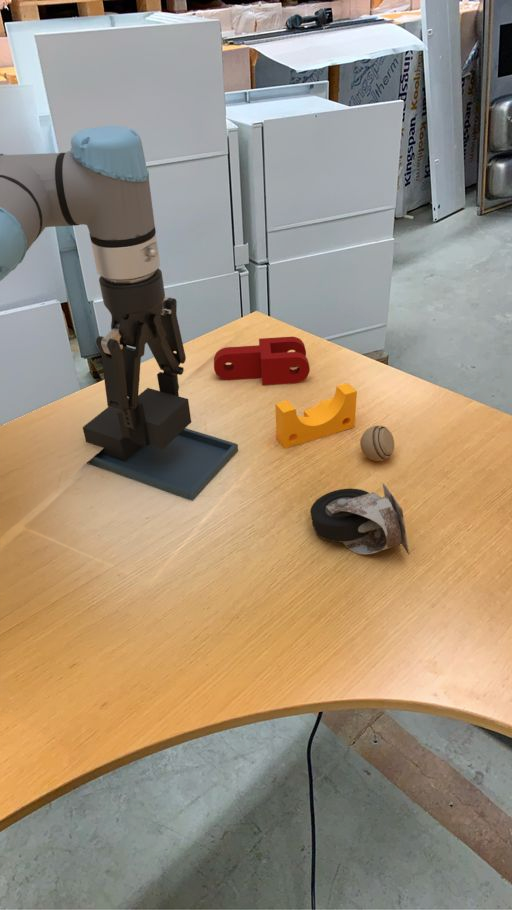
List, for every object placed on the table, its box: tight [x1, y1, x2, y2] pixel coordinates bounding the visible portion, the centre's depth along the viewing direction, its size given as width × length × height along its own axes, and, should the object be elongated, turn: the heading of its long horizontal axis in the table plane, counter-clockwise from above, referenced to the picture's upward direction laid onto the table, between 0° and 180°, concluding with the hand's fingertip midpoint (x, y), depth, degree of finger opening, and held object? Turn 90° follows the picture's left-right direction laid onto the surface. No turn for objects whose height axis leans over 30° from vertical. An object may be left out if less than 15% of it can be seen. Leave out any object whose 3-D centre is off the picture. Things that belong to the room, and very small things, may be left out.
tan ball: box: [359, 425, 395, 462], centre depth 92 cm, size 5×5×5 cm
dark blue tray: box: [86, 427, 239, 502], centre depth 95 cm, size 21×12×2 cm, turn 61°
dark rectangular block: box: [117, 387, 192, 449], centre depth 91 cm, size 7×7×4 cm
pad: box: [82, 406, 143, 462], centre depth 97 cm, size 7×7×4 cm
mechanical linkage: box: [213, 336, 311, 386], centre depth 112 cm, size 16×7×5 cm, turn 93°
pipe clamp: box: [274, 382, 358, 450], centre depth 98 cm, size 12×4×6 cm, turn 114°
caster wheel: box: [309, 482, 410, 555], centre depth 80 cm, size 7×11×10 cm
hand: (156, 427), depth 92 cm, fingers closed on dark rectangular block, 7 cm apart
